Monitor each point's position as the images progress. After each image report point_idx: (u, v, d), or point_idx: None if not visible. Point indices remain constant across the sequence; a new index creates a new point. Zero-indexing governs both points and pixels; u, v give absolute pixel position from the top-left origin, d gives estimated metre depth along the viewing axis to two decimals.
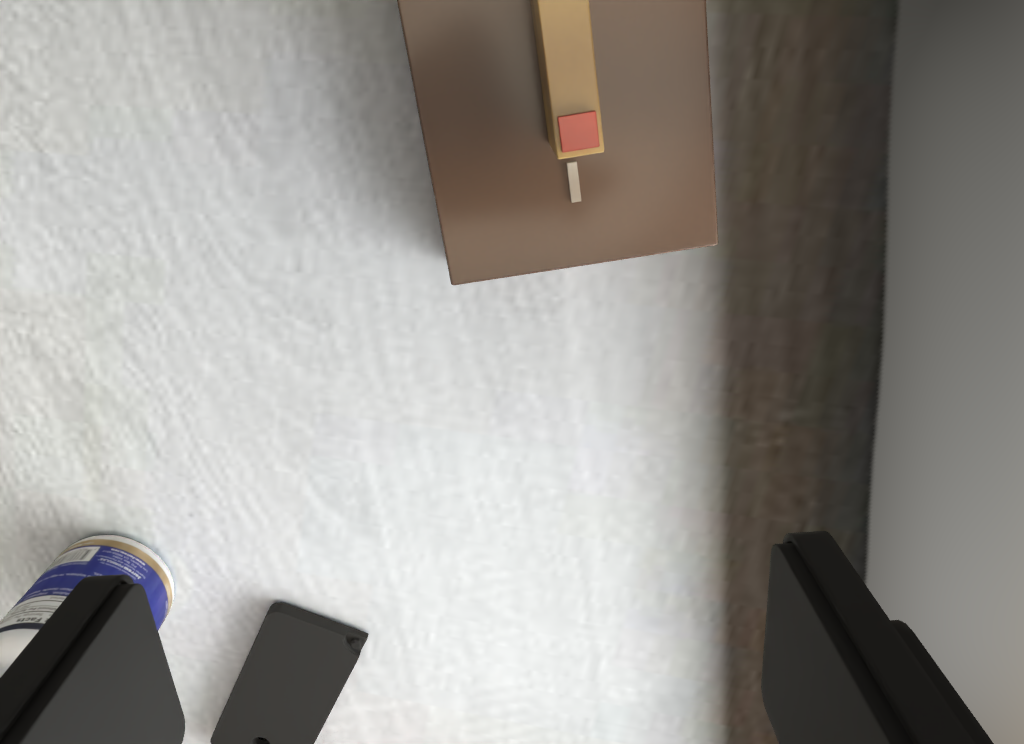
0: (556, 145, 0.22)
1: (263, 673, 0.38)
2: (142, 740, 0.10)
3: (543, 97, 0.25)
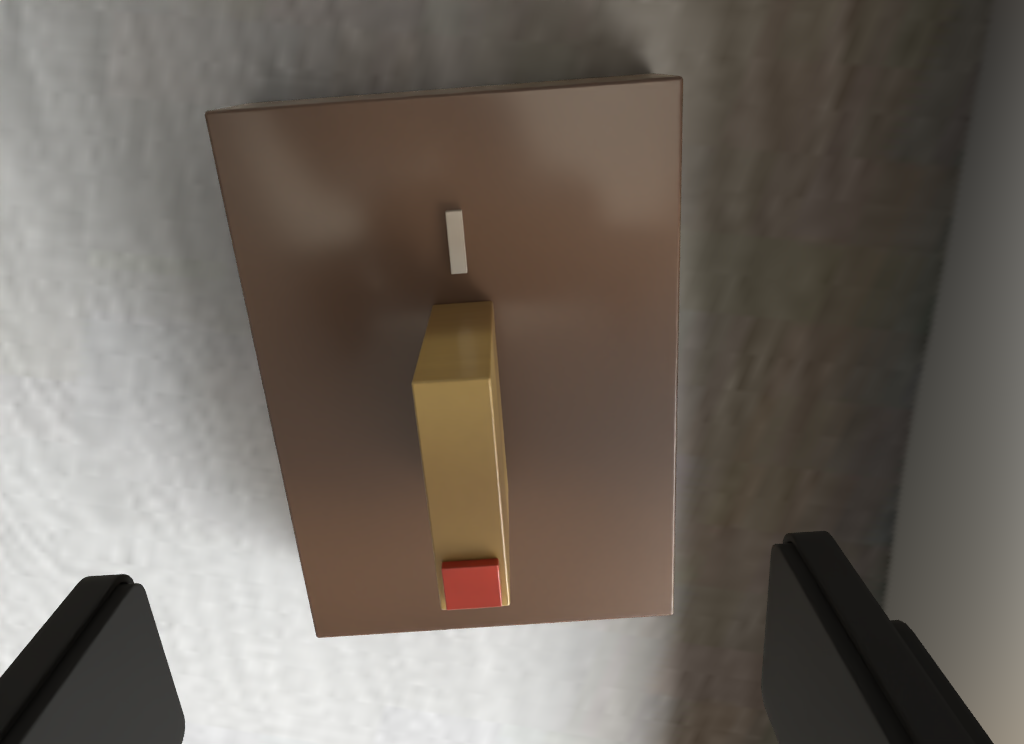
0: (440, 593, 0.15)
1: None
2: (142, 740, 0.10)
3: None
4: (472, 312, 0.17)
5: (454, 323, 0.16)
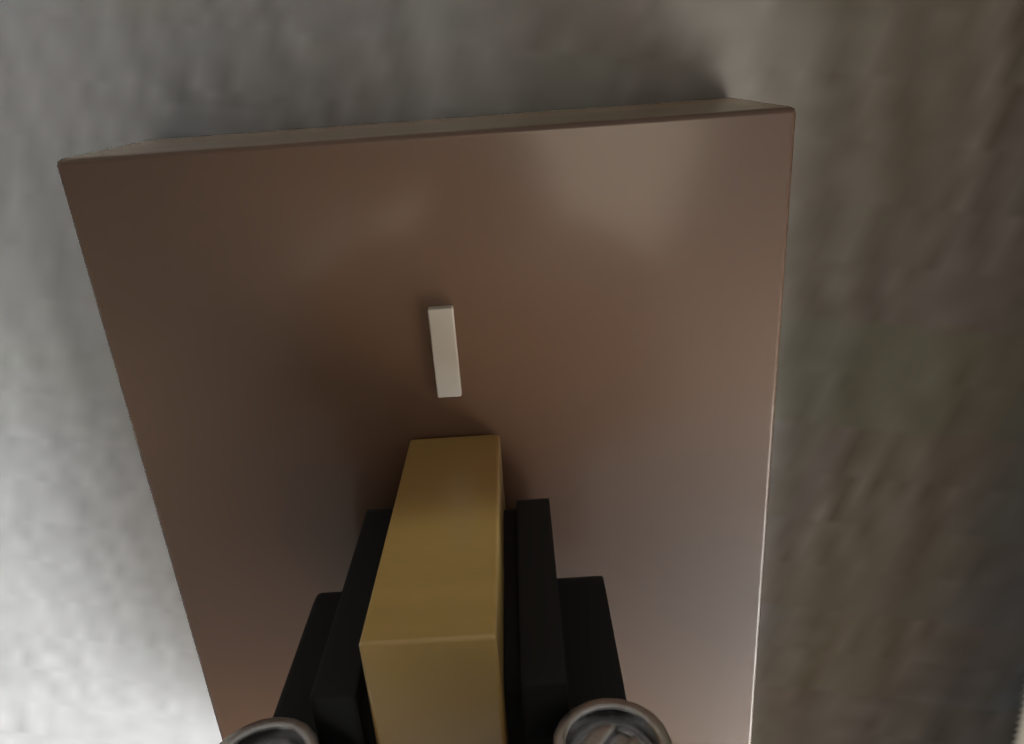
0: None
1: None
2: None
3: None
4: (468, 459, 0.11)
5: (440, 485, 0.10)
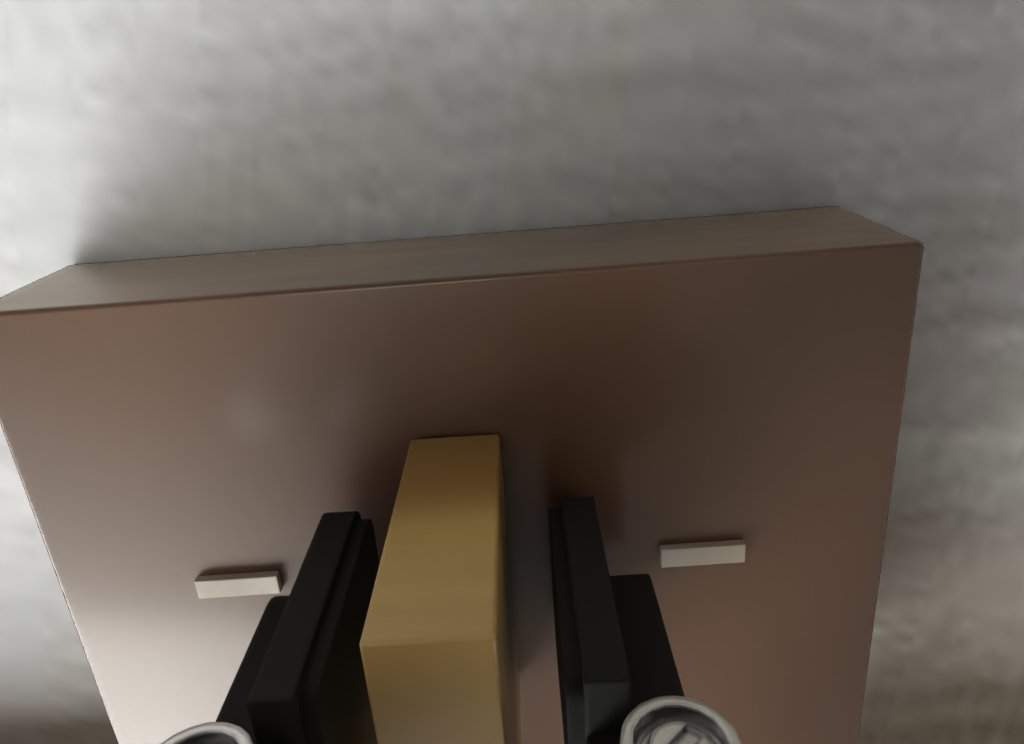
0: None
1: None
2: None
3: None
4: (468, 459, 0.11)
5: (440, 484, 0.10)
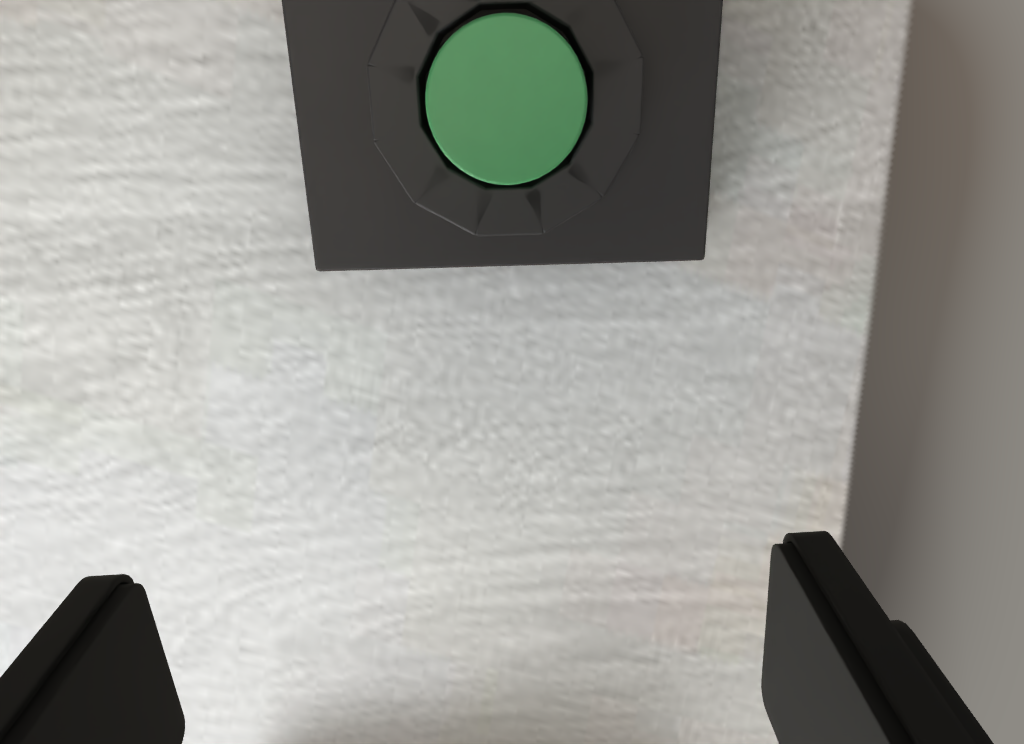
0: None
1: None
2: (142, 740, 0.10)
3: None
4: None
5: None
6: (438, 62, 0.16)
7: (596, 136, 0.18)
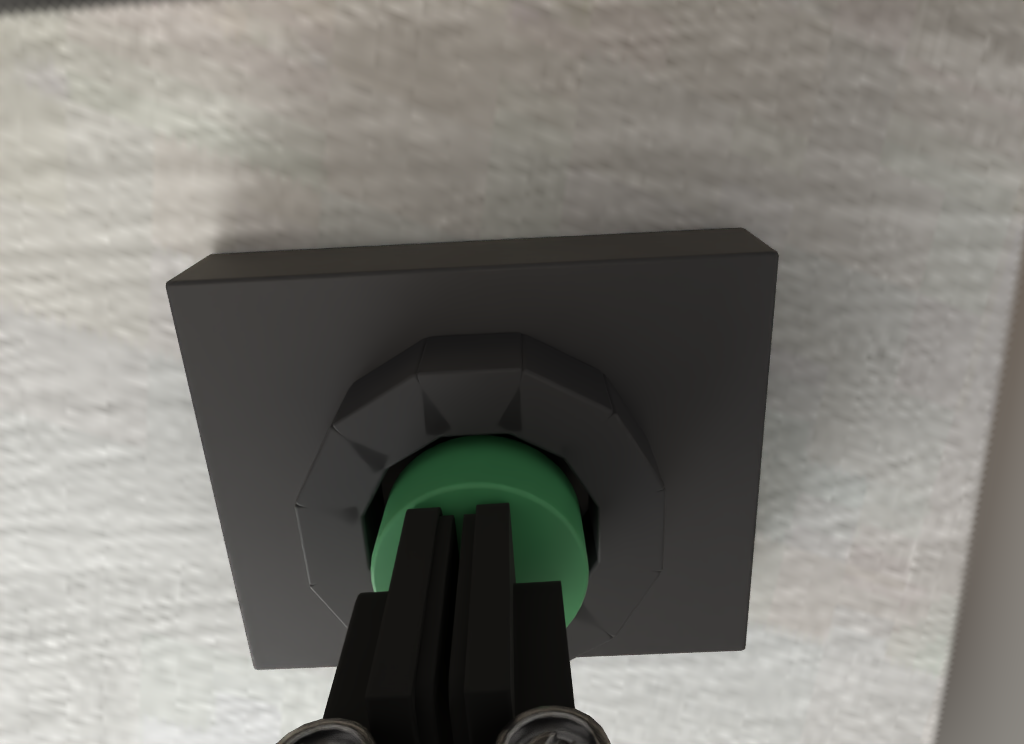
0: None
1: None
2: None
3: None
4: None
5: None
6: (385, 540, 0.12)
7: (603, 576, 0.14)
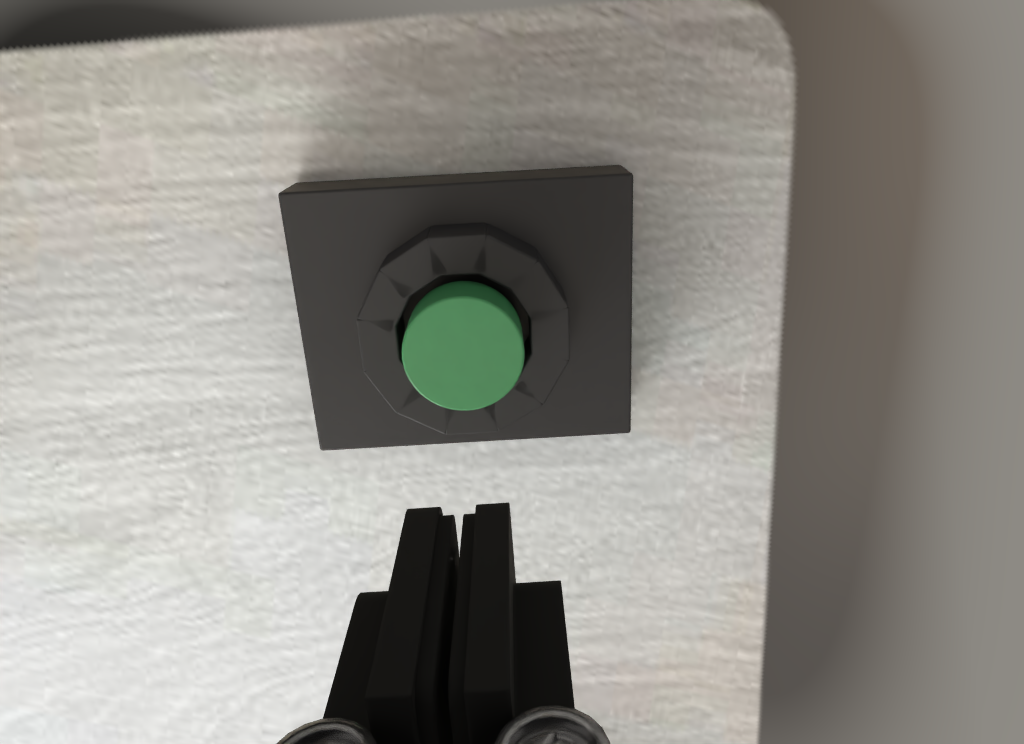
0: None
1: None
2: None
3: None
4: None
5: None
6: (410, 331, 0.22)
7: (535, 363, 0.24)
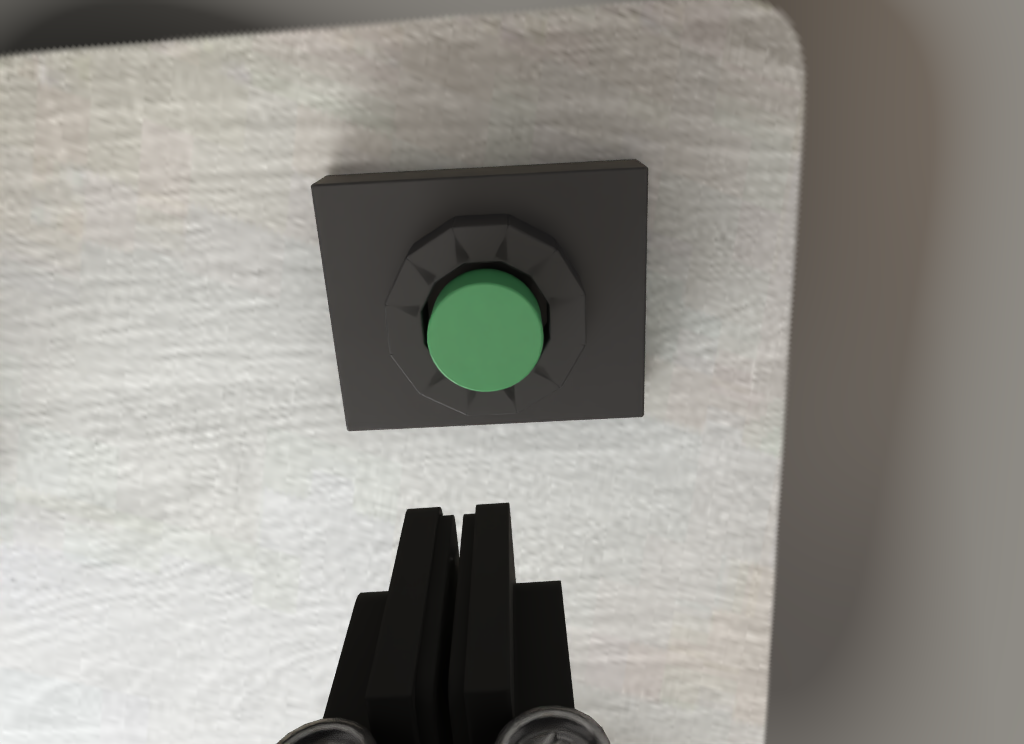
0: None
1: None
2: None
3: None
4: None
5: None
6: (435, 315, 0.23)
7: (553, 347, 0.25)
